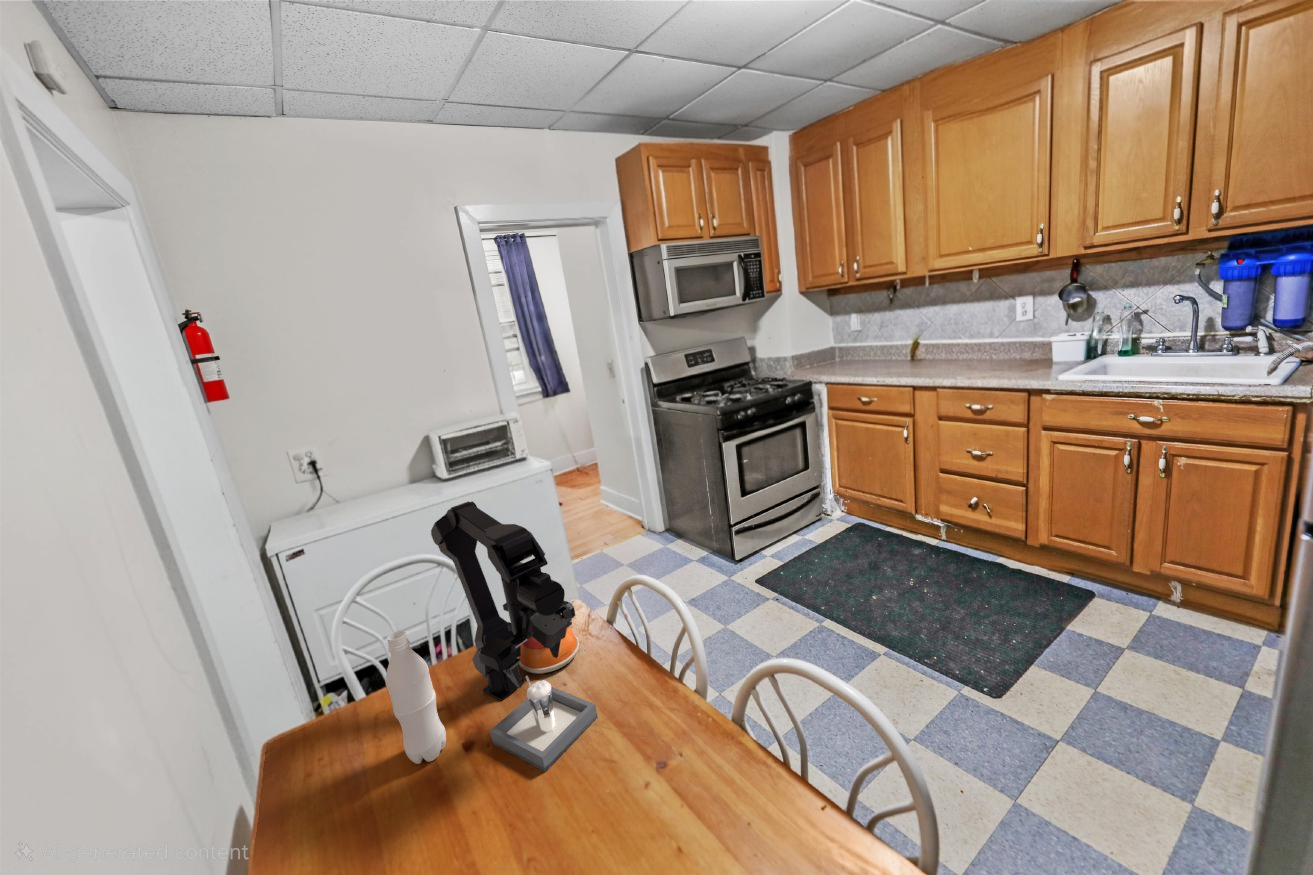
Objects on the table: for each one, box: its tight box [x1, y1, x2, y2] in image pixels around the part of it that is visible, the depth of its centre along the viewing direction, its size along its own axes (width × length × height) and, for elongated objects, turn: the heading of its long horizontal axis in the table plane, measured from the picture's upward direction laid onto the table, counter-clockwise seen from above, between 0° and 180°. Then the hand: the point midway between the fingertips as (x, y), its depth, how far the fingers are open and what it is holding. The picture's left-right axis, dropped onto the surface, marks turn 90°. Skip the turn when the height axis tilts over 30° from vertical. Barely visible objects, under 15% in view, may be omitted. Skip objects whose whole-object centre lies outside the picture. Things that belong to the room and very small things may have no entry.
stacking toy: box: [517, 626, 580, 675], centre depth 123 cm, size 14×14×20 cm
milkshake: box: [525, 675, 555, 733], centre depth 101 cm, size 5×5×10 cm
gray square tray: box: [489, 686, 599, 773], centre depth 102 cm, size 14×14×3 cm
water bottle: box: [385, 629, 447, 765], centre depth 98 cm, size 7×7×25 cm
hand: (537, 671), depth 101 cm, fingers open, 9 cm apart
